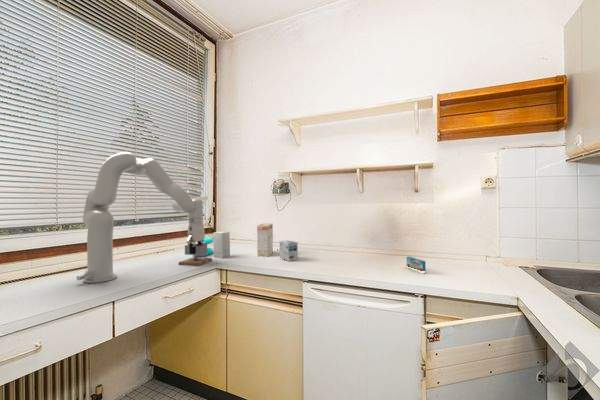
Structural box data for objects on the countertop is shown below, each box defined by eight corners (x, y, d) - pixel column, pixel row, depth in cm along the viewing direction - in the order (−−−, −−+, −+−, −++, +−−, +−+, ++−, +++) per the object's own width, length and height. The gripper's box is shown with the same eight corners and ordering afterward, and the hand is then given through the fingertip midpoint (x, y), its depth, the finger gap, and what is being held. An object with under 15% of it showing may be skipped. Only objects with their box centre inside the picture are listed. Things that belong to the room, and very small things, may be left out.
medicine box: (195, 258, 179) (194, 243, 179) (192, 256, 182) (192, 243, 182) (207, 256, 184) (207, 242, 184) (204, 255, 187) (204, 241, 187)
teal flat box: (425, 273, 142) (425, 261, 142) (422, 274, 142) (423, 261, 142) (409, 268, 154) (409, 256, 154) (406, 268, 153) (406, 256, 153)
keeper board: (197, 266, 157) (197, 256, 157) (178, 264, 160) (178, 254, 160) (212, 260, 171) (212, 251, 171) (194, 259, 174) (193, 250, 174)
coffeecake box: (263, 252, 198) (262, 223, 198) (273, 252, 197) (273, 223, 197) (256, 256, 183) (256, 225, 183) (267, 256, 182) (267, 225, 182)
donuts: (213, 239, 189) (196, 239, 186) (213, 254, 189) (196, 255, 186) (212, 237, 198) (197, 237, 195) (212, 251, 198) (197, 252, 196)
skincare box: (230, 256, 182) (230, 231, 182) (222, 258, 176) (222, 232, 176) (221, 255, 186) (220, 231, 186) (212, 257, 181) (212, 232, 181)
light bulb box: (298, 260, 172) (298, 242, 172) (288, 261, 168) (288, 243, 168) (288, 257, 181) (288, 239, 181) (279, 258, 177) (279, 240, 177)
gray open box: (200, 255, 161) (200, 246, 161) (184, 254, 164) (184, 245, 164) (207, 253, 167) (207, 244, 167) (191, 252, 170) (191, 243, 170)
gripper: (192, 222, 156) (192, 256, 156) (210, 219, 173) (210, 250, 173) (180, 222, 158) (180, 255, 158) (198, 219, 175) (199, 249, 175)
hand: (196, 252), depth 166 cm, fingers closed on gray open box, 6 cm apart
